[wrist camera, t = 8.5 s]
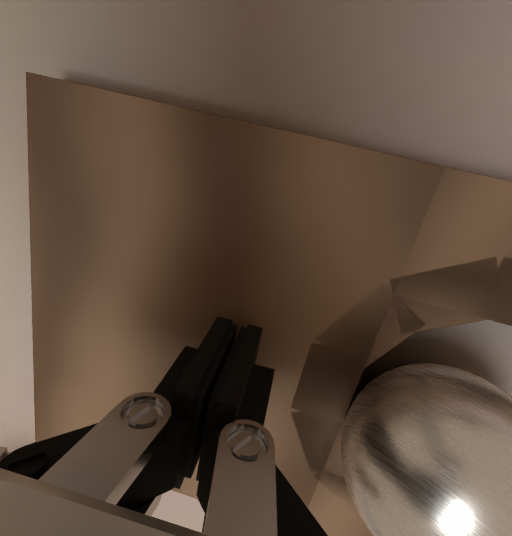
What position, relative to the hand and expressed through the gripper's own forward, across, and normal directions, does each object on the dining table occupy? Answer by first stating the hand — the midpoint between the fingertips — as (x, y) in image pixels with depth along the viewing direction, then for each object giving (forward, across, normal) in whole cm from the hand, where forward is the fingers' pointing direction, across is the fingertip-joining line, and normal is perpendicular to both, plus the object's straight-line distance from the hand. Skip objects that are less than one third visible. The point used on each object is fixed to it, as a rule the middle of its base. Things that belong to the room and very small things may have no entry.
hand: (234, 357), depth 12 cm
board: (+2, -4, 0) cm, 4 cm away
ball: (-1, -7, +1) cm, 7 cm away
